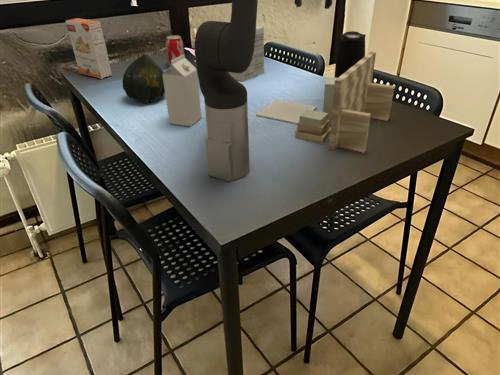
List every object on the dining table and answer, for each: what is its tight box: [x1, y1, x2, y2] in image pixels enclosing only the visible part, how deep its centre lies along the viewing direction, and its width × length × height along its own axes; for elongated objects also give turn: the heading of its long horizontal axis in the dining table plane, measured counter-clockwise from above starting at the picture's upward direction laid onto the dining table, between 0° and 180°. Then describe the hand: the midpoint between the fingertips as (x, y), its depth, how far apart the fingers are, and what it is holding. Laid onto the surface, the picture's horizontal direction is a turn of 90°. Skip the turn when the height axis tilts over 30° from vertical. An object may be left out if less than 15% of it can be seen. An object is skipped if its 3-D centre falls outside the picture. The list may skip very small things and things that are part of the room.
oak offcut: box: [296, 120, 331, 137], centre depth 107 cm, size 6×7×2 cm
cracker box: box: [65, 17, 113, 79], centre depth 155 cm, size 14×6×21 cm, turn 55°
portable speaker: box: [334, 30, 367, 78], centre depth 130 cm, size 9×9×20 cm
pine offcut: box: [294, 127, 331, 145], centre depth 109 cm, size 6×8×2 cm
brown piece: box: [328, 51, 396, 154], centre depth 106 cm, size 28×8×18 cm, turn 149°
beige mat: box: [255, 99, 318, 125], centre depth 124 cm, size 14×14×1 cm
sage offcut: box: [299, 110, 328, 127], centre depth 106 cm, size 5×6×2 cm
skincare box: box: [322, 76, 337, 125], centre depth 114 cm, size 6×4×12 cm
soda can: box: [165, 34, 185, 67], centre depth 165 cm, size 7×7×12 cm
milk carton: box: [162, 53, 202, 127], centre depth 115 cm, size 7×7×19 cm
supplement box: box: [229, 25, 265, 82], centre depth 152 cm, size 13×13×18 cm
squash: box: [122, 53, 165, 104], centre depth 134 cm, size 14×15×15 cm
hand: (312, 7), depth 111 cm, fingers open, 8 cm apart
